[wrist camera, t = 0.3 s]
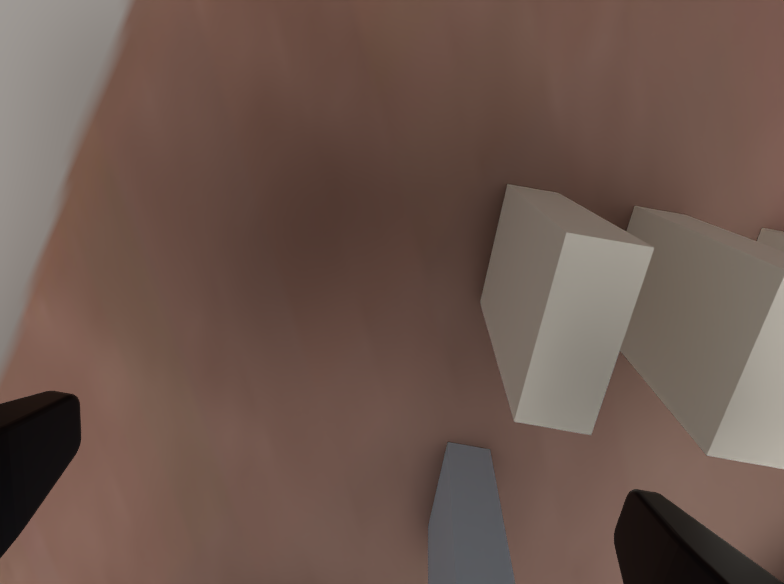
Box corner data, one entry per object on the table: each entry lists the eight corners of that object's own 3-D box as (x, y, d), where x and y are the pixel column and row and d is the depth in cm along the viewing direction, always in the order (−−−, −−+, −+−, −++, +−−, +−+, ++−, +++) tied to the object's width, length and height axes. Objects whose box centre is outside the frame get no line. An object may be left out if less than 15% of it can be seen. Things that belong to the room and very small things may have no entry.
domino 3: (644, 331, 22) (784, 469, 13) (597, 322, 22) (706, 455, 13) (685, 214, 20) (875, 285, 12) (634, 205, 20) (786, 270, 12)
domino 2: (526, 310, 22) (591, 435, 13) (479, 302, 22) (514, 421, 13) (558, 192, 20) (654, 247, 12) (507, 184, 20) (566, 232, 12)
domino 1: (467, 533, 26) (487, 739, 17) (428, 526, 26) (428, 728, 17) (490, 449, 24) (523, 631, 15) (447, 441, 24) (458, 619, 15)
